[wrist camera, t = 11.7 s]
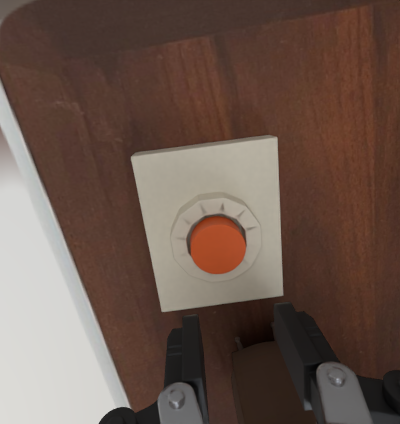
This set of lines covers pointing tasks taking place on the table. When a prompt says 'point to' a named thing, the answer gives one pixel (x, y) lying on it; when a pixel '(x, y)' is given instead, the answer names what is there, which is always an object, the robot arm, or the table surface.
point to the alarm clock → (265, 386)
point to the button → (217, 245)
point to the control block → (208, 207)
